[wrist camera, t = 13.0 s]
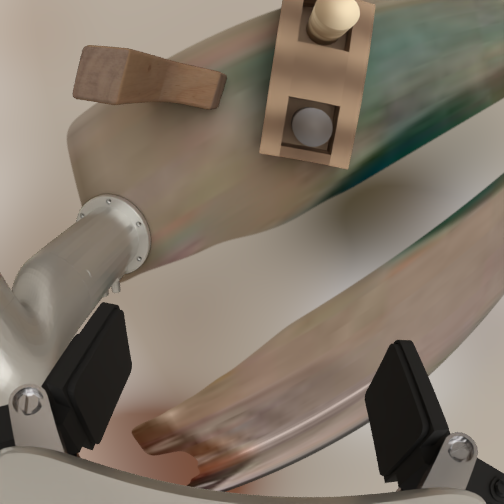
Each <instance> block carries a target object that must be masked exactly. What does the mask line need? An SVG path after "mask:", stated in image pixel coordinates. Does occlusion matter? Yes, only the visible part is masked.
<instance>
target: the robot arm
mask: <svg viewBox="0 0 504 504" xmlns="http://www.w3.org/2000/svg"><path fill="white" fill-rule="evenodd" d="M140 222H141V223H140ZM150 246H151V236H150V230H149V227H148V225H147V222H146V220H145V218H144V217H143V215H142V213H141V212H140V211H139V210H138V209H137V207H135V206H134V205H133V204H132V203H131V202H129V201H128V200H126V199H124V198H122V197H120V196H117V195H111V194H103V195H99V196H96V197H94V198H92V199H91V200H89V201H88V202H87V203H85V204H84V206H83V207H82V208H81V210H80V212H79V214H78V217H77V221H76V223H75V224H73V225H72V226H71V227H69V228H68V229H67V230H66V231H64V232H63V233H61V234H60V235H59V236H58V237H56V238H55V239H54V240H52V241H51V242H50V243H49V244H47V245H46V246H45V247H44V248H42V249H41V250H40V251H39V252H37V253H36V254H35V255H34V256H32V257H31V258H30V259H29V260H27V261H26V262H25V264H24V265H23V266H22V267H21V269H20V270H19V272H18V274H17V276H16V278H15V280H14V283H13V287H12V291H11V289H10V288H9V286H8V285H7V283H6V281H5V280H4V278H3V276H2V275H1V273H0V504H504V473H502V472H500V471H498V470H497V469H495V468H493V467H492V466H490V465H488V464H486V463H485V462H483V461H482V460H480V459H478V458H477V455H478V450H477V446H476V444H475V442H474V440H473V439H472V438H471V437H470V436H468V435H466V434H464V433H459V432H455V433H452V434H450V432H449V428H448V425H447V422H446V420H445V417H444V415H443V412H442V409H441V407H440V404H439V402H438V400H437V397H436V394H435V392H434V389H433V387H432V385H431V383H430V380H429V378H428V375H427V373H426V371H425V368H424V366H423V364H422V361H421V359H420V357H419V355H418V353H417V350H416V348H415V346H414V344H413V342H412V341H410V340H396V341H395V342H394V344H391V345H390V346H389V348H388V350H387V352H386V354H385V356H384V358H383V360H382V362H381V364H380V366H379V368H378V370H377V372H376V374H375V376H374V378H373V380H372V382H371V384H370V386H369V388H368V389H367V391H366V394H365V403H366V408H367V412H368V417H369V421H370V426H371V431H372V436H373V440H374V445H375V450H376V456H377V461H378V467H379V472H380V474H381V475H382V476H384V480H385V483H387V482H395V481H398V486H399V488H398V489H397V491H396V492H390V493H381V494H369V495H358V496H343V497H273V496H259V495H247V494H237V493H228V492H221V491H213V490H207V489H200V488H194V487H189V486H183V485H178V484H173V483H168V482H164V481H159V480H155V479H151V478H147V477H143V476H139V475H135V474H131V473H128V472H124V471H121V470H117V469H113V468H110V467H107V466H104V465H101V464H97V463H94V462H91V461H88V460H86V459H82V458H80V456H79V454H78V453H79V452H80V450H81V448H82V447H85V448H87V449H90V450H93V448H94V445H95V444H99V443H100V442H101V440H102V437H103V435H104V432H105V430H106V428H107V425H108V423H109V421H110V418H111V416H112V414H113V411H114V409H115V407H116V404H117V402H118V400H119V397H120V395H121V393H122V390H123V388H124V386H125V384H126V382H127V380H128V377H129V375H130V373H131V369H132V362H131V357H130V351H129V345H128V338H127V332H126V326H125V319H124V312H123V311H122V310H120V309H119V306H118V305H114V304H109V303H105V302H103V303H101V304H100V306H99V307H98V308H97V310H96V311H95V313H94V314H93V315H92V317H91V318H90V319H89V321H88V322H87V324H86V325H85V327H84V328H83V329H82V331H81V332H80V334H77V335H76V336H75V337H74V335H75V334H76V332H77V331H78V329H79V328H80V326H81V325H82V324H83V322H84V321H85V320H86V318H87V317H88V316H89V314H90V313H91V312H92V310H93V309H94V308H95V306H96V305H97V304H98V302H99V301H100V300H101V299H102V297H106V296H107V295H108V294H109V288H110V287H112V292H113V293H119V292H120V283H119V280H120V279H121V277H122V276H123V275H124V274H127V273H130V272H133V271H135V270H136V269H138V268H139V267H140V266H141V265H142V264H143V263H144V261H145V260H146V258H147V256H148V254H149V251H150ZM73 337H74V338H73ZM72 338H73V339H72ZM71 340H72V341H71ZM70 341H71V342H70Z"/></svg>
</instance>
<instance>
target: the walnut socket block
mask: <svg viewBox="0 0 504 504" xmlns="http://www.w3.org/2000/svg"><path fill="white" fill-rule="evenodd" d="M316 1H317V0H283V1H282V7H281V14H280V20H279V26H278V33H277V39H276V46H275V52H274V59H273V65H272V72H271V78H270V85H269V91H268V98H267V105H266V111H265V118H264V125H263V131H262V138H261V145H260V151H259V153H261V154H267V155H274V156H280V157H286V158H292V159H297V160H303V161H308V162H314V163H319V164H324V165H329V166H334V167H339V168H344V169H348V167H349V162H350V158H351V153H352V148H353V143H354V138H355V133H356V128H357V123H358V117H359V112H360V106H361V101H362V95H363V89H364V83H365V77H366V71H367V64H368V58H369V51H370V44H371V36H372V29H373V21H374V12H375V5H374V4H371V3H367V2H363V1H360V0H355V1H356V2H357V4H358V6H359V9H360V16H359V19H358V21H357V22H356V24H355V25H353V26H352V27H351V28H350V29H349V30H348V31H347V32H346V33H345V34H343V35H342V36H341V37H340V38H339V39H338V40H337V41H336V42H335V43H333V44H330V45H319V44H317V43H315V42H313V41H312V40H311V39H310V38H309V37H308V35H307V32H306V26H307V23H308V20H309V18H310V16H311V13H312V11H313V8H314V6H315V3H316Z"/></svg>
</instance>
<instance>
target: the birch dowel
mask: <svg viewBox="0 0 504 504" xmlns="http://www.w3.org/2000/svg"><path fill="white" fill-rule="evenodd" d="M359 16H360V9H359V6H358V4H357V2H356V1H355V0H317V1H316V3H315V6H314V8H313V11H312V13H311V16H310V18H309V20H308V23H307V26H306V32H307V35H308V37H309V38H310V39H311V40H312V41H313V42H315V43H317V44H319V45H330V44H333V43H335V42H336V41H337V40H338V39H339V38H340V37H341V36H342V35H343V34H345V33H346V32H347V31H348V30H349V29H350V28H351V27H352V26H353V25H355V24H356V22H357V21H358V19H359Z"/></svg>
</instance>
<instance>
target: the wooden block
mask: <svg viewBox="0 0 504 504" xmlns="http://www.w3.org/2000/svg"><path fill="white" fill-rule="evenodd" d="M226 79H227V76H226V75H225V74H223V73H221V72H218V71H214V70H209V69H205V68H201V67H196V66H192V65H187V64H183V63H179V62H175V61H171V60H167V59H164V58H161V57H157V56H154V55H150V54H147V53H143V52H139V51H136V50H132V49H128V48H119V47H107V46H94V45H88V46H85V47H84V48H83V50H82V54H81V58H80V62H79V66H78V71H77V75H76V80H75V85H74V89H73V97H74V98H76V99H80V100H87V101H94V102H99V103H105V104H111V105H120V104H130V103H142V102H157V101H159V102H172V103H179V104H185V105H190V106H194V107H199V108H203V109H207V110H208V109H215V108H217V107H218V106H219V103H220V99H221V96H222V92H223V89H224V86H225V83H226Z"/></svg>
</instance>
